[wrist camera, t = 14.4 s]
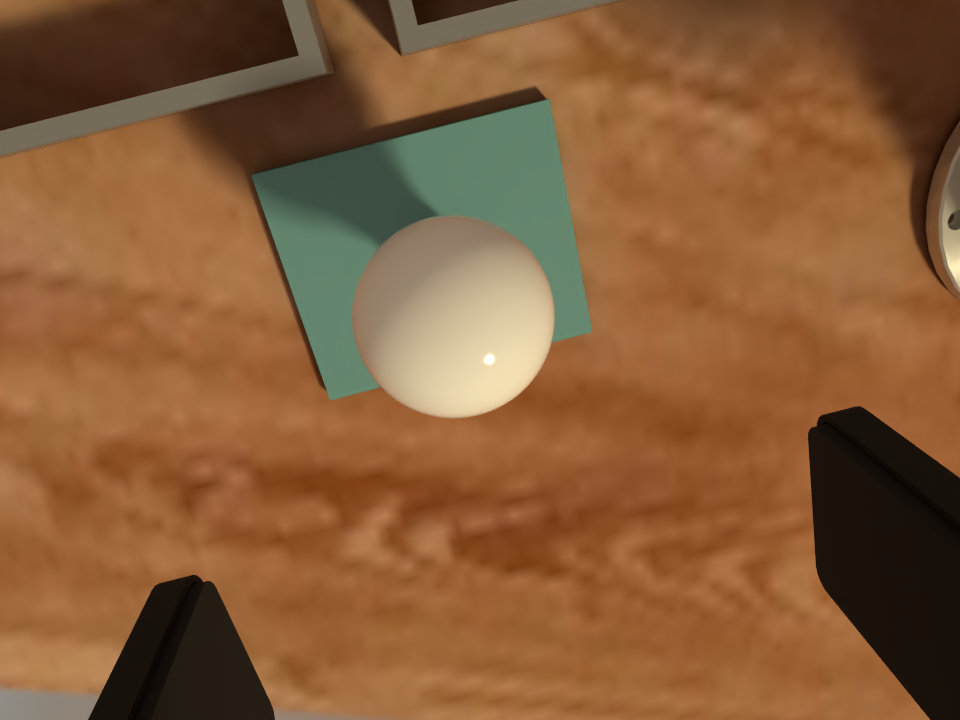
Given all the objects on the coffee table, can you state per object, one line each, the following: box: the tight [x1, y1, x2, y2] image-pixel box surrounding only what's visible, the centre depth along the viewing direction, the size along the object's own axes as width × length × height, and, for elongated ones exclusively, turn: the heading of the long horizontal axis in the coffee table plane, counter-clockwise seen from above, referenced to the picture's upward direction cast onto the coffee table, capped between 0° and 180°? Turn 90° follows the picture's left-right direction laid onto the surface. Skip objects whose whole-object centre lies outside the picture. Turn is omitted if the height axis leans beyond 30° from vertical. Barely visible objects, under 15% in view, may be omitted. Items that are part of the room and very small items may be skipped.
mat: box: [251, 99, 592, 400], centre depth 30 cm, size 12×10×1 cm
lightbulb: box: [352, 215, 555, 418], centre depth 25 cm, size 6×6×11 cm
